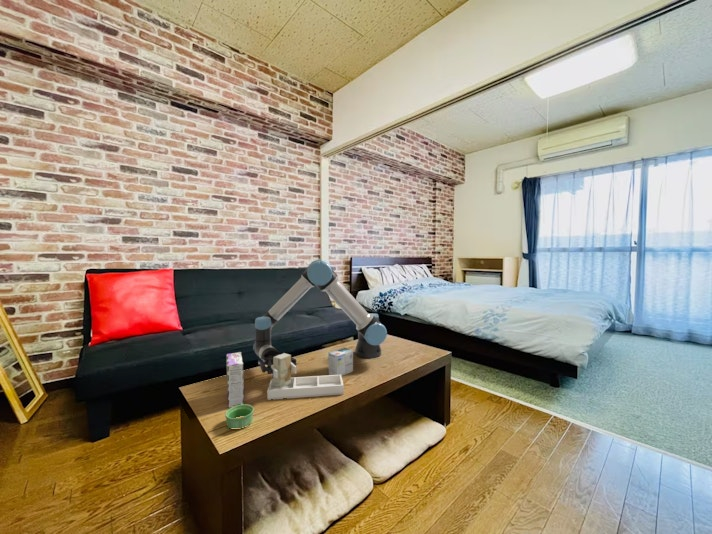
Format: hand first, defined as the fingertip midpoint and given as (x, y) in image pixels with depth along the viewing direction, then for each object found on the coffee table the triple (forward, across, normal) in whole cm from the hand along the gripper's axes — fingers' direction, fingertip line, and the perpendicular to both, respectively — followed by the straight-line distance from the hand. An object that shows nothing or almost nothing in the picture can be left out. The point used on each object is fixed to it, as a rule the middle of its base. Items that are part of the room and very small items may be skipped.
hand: (286, 372), depth 116 cm
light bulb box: (-9, -30, -10) cm, 33 cm away
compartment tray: (-1, -9, -10) cm, 14 cm away
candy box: (-11, +17, -11) cm, 23 cm away
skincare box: (-5, 0, -7) cm, 9 cm away
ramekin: (+8, +19, -11) cm, 24 cm away
